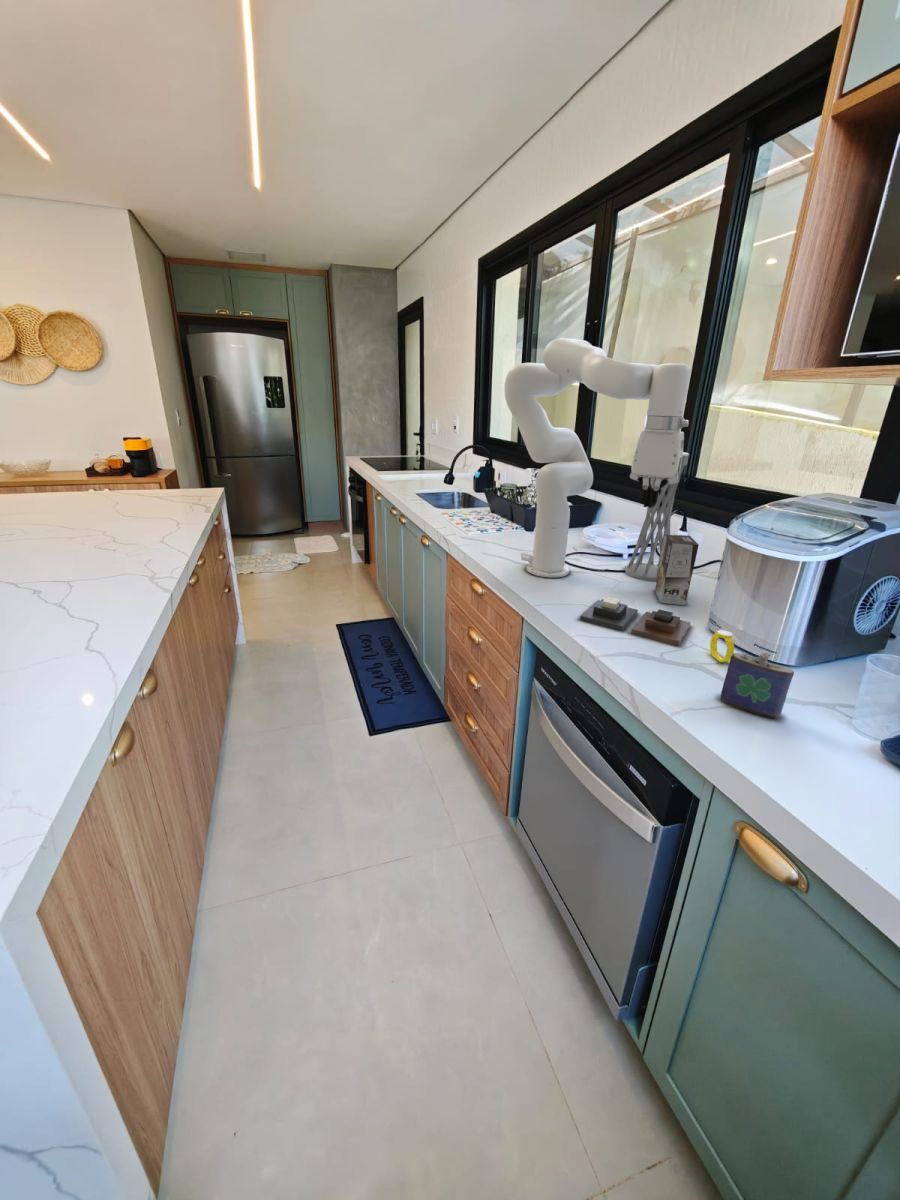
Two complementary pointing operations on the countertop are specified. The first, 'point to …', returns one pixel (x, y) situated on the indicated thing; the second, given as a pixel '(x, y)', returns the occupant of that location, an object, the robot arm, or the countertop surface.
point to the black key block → (609, 615)
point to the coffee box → (676, 569)
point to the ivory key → (611, 603)
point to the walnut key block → (661, 629)
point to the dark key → (663, 616)
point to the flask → (756, 685)
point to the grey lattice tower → (649, 569)
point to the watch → (729, 644)
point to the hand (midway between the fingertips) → (648, 506)
